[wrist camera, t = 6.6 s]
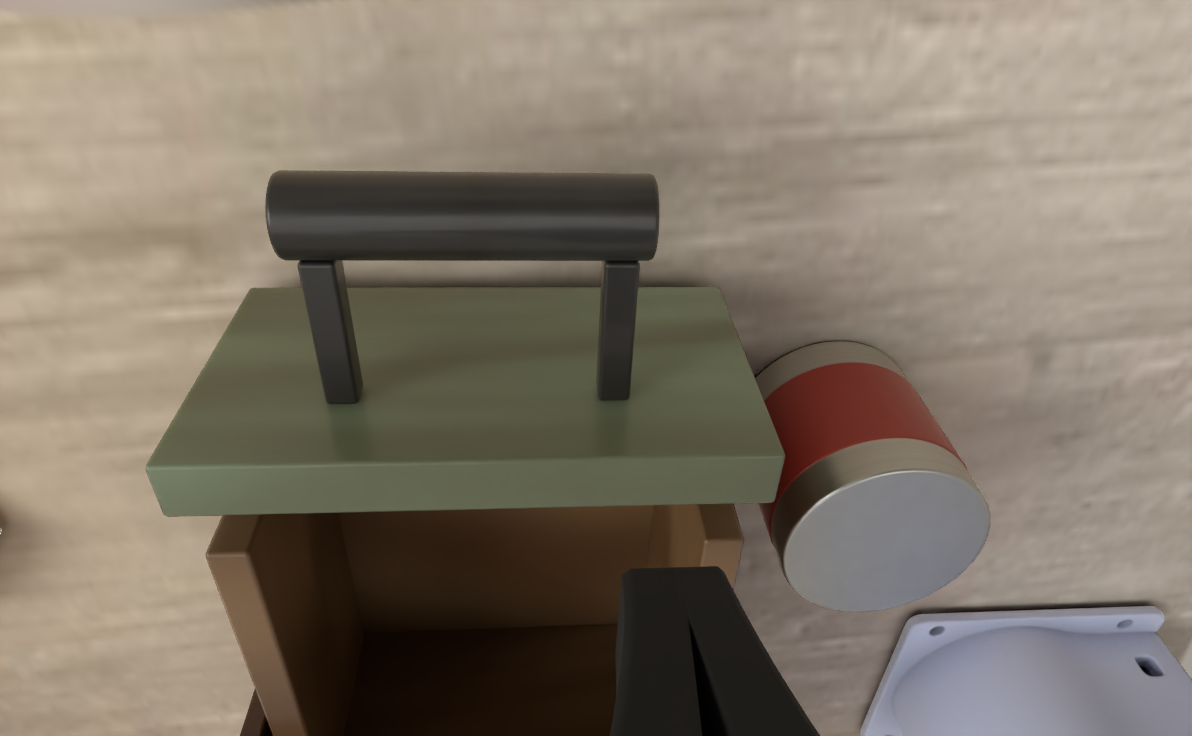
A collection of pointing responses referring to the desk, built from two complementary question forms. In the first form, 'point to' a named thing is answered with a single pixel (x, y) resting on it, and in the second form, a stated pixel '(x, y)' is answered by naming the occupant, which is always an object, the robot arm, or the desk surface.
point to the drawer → (460, 454)
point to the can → (865, 482)
